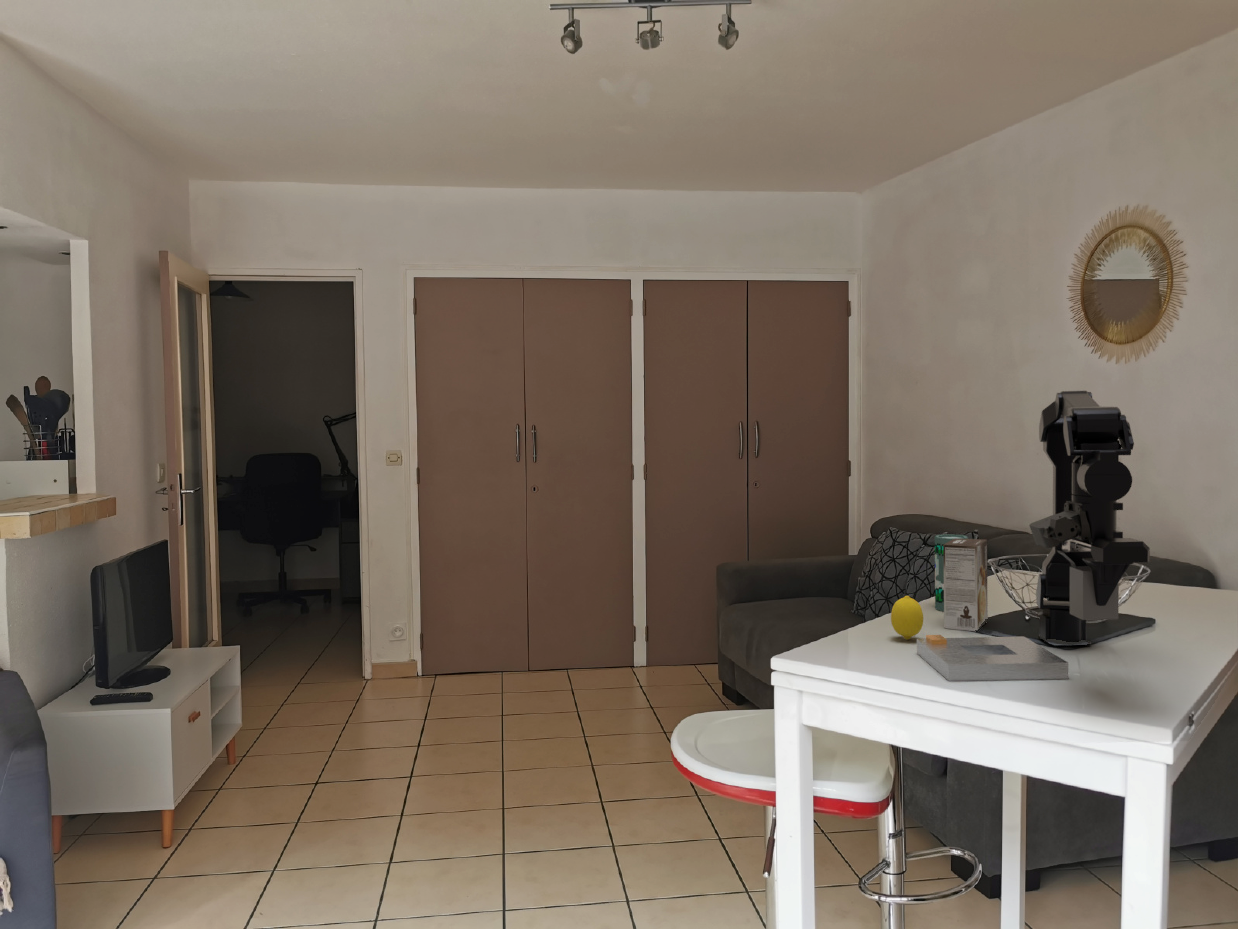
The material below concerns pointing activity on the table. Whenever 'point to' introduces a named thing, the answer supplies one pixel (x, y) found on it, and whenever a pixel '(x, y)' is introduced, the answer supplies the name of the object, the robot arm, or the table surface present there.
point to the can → (941, 568)
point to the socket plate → (990, 658)
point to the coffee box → (965, 584)
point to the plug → (1089, 597)
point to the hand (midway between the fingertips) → (1093, 602)
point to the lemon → (907, 617)
